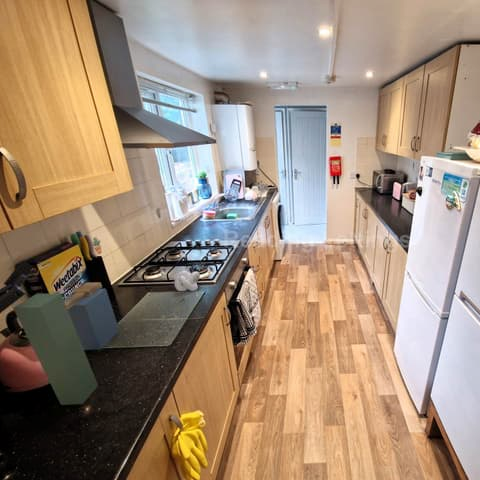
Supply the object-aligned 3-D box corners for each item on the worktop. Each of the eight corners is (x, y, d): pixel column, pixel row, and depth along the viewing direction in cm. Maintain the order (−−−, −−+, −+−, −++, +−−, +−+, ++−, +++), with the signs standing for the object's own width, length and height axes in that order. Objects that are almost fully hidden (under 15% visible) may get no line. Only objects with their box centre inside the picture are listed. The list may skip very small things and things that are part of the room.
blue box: (75, 352, 94) (55, 305, 86) (96, 333, 103) (80, 289, 96) (102, 351, 94) (84, 304, 87) (120, 332, 104) (105, 288, 96)
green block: (62, 407, 75) (12, 307, 62) (78, 388, 80) (36, 293, 68) (84, 406, 75) (39, 307, 63) (99, 387, 81) (60, 293, 68)
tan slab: (88, 287, 97) (86, 282, 96) (102, 287, 97) (100, 282, 96) (43, 318, 80) (40, 313, 79) (60, 318, 80) (58, 312, 80)
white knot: (192, 280, 141) (189, 265, 138) (208, 286, 136) (205, 270, 133) (172, 290, 132) (169, 274, 129) (188, 297, 127) (185, 280, 124)
